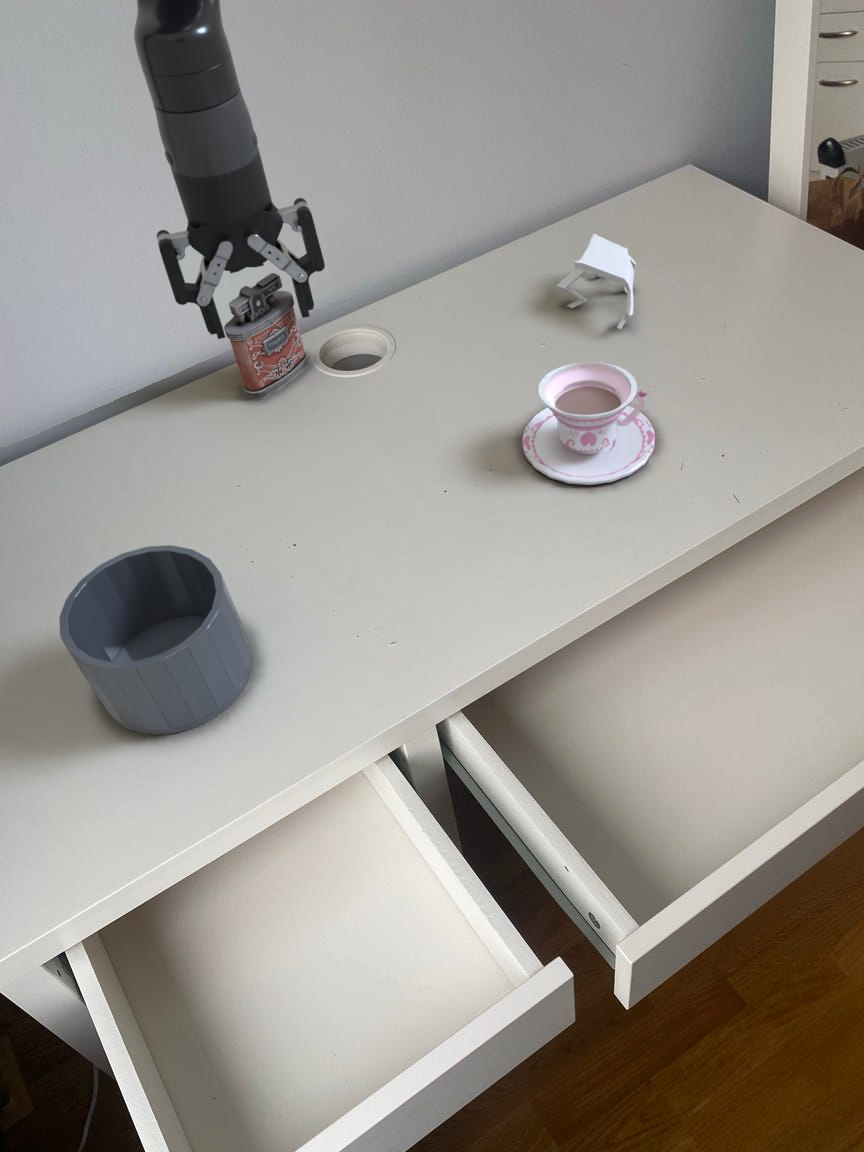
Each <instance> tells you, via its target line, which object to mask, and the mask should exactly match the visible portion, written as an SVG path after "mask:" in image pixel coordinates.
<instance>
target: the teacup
mask: <svg viewBox="0 0 864 1152" xmlns="http://www.w3.org/2000/svg"><path fill="white" fill-rule="evenodd" d="M537 392H538V396H539V398H540V400H541V401H542V403H544V405H545V406H546V407H545V408H544V409H542V410H541V411H539V412H538V413H536V414H535V415H534V416H532V418H531V420H530V421H529V422H528V423H527V425H526V426H525V427H524V431H523V435H522V439H521V447H522V449H523V454H524V457H525V458H526V460H527V461H528V463H530V465H531V466H532V467H533V468H534V469H535V470H536V471H538V472H539V473H541V474H543V475H545V476H546V477H548V478H550V479H552V480H556V481H559V482H562V483H565V484H570V485H571V484H572V485H586V486H593V485H600V484H606V483H607V484H609V483H613V482H615V481H618V480H621V479H623V478H626V477H628V476H631V475H633V474H634V473H635V472H636V471H638V470H639V469H640V468H642V467H643V466H645V465H646V463H647V462H648V460H649V459H650V458H651V456H652V454H653V453H654V451H655V443H656V434H655V433H656V432H655V431H654V428H653V425H652V422H651V420H649V419H648V418H647V417H646V416H645V415H644V414H643V413H642V412H641V411H642V409H643V407H644V405H645V401H644V398H645V397H647V396H648V393H647V391H643V389H641V390H639V391H638V383H637V379H636V378H635V377H634V375H633V374H632V373H631V372H629V371H628V370H627V369H625V368H623V367H621V366H619V365H616V364H613V363H608V362H602V361H579V362H572V363H569V364H565V365H562V366H559V367H557V368H555V369H553V370H551V371H550V372H548V373H547V374H546V375H544V376H543V377H542V379H541V381H540V382H539V384H538V391H537ZM633 400H637V401H638V403H637V404H636V407H635V408H634V407H633V406H631V405H629V404H630V403H631V402H632V401H633Z"/></svg>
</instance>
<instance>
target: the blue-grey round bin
mask: <svg viewBox="0 0 864 1152" xmlns="http://www.w3.org/2000/svg"><path fill="white" fill-rule="evenodd" d="M63 603H64V604H63V606H62V609H61V611H60V613H59V614H60V615H59V621H58V622H59V636H60V639H61V641H62V642H63V644H64V646H65V648H66V649H67V651H68V653H69V655H70V656H71V657H72V659H73V660H74V662H75V664H76V665H77V667H78V668H79V670H80V672H81V673H82V675H83V676H84V678H85V679H86V680H87V682H88V684H89V685H90V687H91V688H92V690H93V692H94V693H95V695H96V696H97V698H98V699H99V700H100V702H101V703H102V705H103V707H104V708H105V710H106V712H107V713H108V714H109V715H110V716H111V717H112V718H113V720H115V722H117V723H118V724H119V725H121V726H123V727H124V728H126V729H128V730H131V731H134V732H136V733H140V734H145V735H154V736H157V735H172V734H178V733H182V732H186V731H189V730H192V729H195V728H197V727H199V726H202V725H203V724H206V723H209V721H212V720H213V719H214V718H217V717H218V716H219V715H220V714H221V713H223V712H224V711H225V710H226V709H227V708H229V707H230V706H232V704H233V703H234V702H235V701H236V699H237V698H238V697H239V696H240V694H241V693H242V692H243V690H244V688H245V687H246V685H247V683H248V681H249V678H250V675H251V671H252V667H253V651H252V647H251V644H250V642H249V637H248V634H247V633H246V630H245V628H244V625H243V623H242V620H241V618H240V616H239V613H238V611H237V608H236V606H235V604H234V601H233V598H232V596H231V594H230V592H229V589H228V587H227V584H226V582H225V579H224V577H223V575H222V572H221V571H220V570H219V568H218V567H217V566H216V564H215V563H214V562H213V561H212V559H211V558H210V557H208V556H205V555H203V554H202V553H200V552H198V551H196V549H195V550H194V549H192V548H188V547H182V546H176V545H174V544H173V545H167V544H166V545H151V546H143V547H140V548H137V549H134V550H130V551H129V550H128V551H126V552H123V553H120V554H118V555H116V556H114V557H113V558H110V559H109V560H106V561H104V562H103V563H100V564H99V565H98V566H96V567H95V568H94V569H93V570H91V571H90V572H88V573H87V574H86V575H85V576H83V577H82V578H81V579H80V580H79V581H78V583H77V584H76V585H75V587H74V588H73V589H72V591H70V593H69V594H68V596H67V597H66V599H65V601H64V602H63Z"/></svg>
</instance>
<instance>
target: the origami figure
mask: <svg viewBox="0 0 864 1152" xmlns="http://www.w3.org/2000/svg"><path fill="white" fill-rule="evenodd" d="M573 264H574V267H575V269H573V270H572V271H571V272H570V273H569V274H567V275H566V276H565V277H564V278H563V279H562V280H561V281H559V283H558V284H556V287H557V288H560V289H562V290H563V291H565V292H567V293H569V294H571V295H572V296H574V297H576V298H577V299H578V300H575V301H574V302H571V303H569V304H567V305H566V307H567V308H570V309H574V308H576V307H578V306H580V305H582V304H584V303H586V302H588V299H587V298H585V297H584V296H583V295H582V294H580V293H579V292H577V291H576V290H575V289H574V288H572V287H570V286H571V285H572V284H573V283H575V282H576V281H577V280H578V279H580V278H581V277H582V276H583V275H584V274H586V273H587V272H589V273H591V274H594V275H596V276H597V277H598V278H605V279H607V280H610V281H612V282H614V283H618V284H620V285H621V288H622V291H623V292H624V293H626V294H627V296H626V298H627V299H626V308H625V309H626V310H625V312H626V313H625V314H624V316H623V318H622V319H621V320H620V322H618V324H617V326H616V329H618V330H621V329H623V327H624V326H625V323H626V322H627V320H628V318H630V317H631V316H632V315H634V278H635V268H636V266H637V263H636V261H635V260H634V259H633V258H632V257H631V255H630V254H629V249H628V247H625V246H622V245H620V244H617V243H615V242H612V241H611V240H608V239H606V238H604V237H601V236H599V235H598V234H596V233H593V234H592V237H591V239H590V241H589V244H588V246H587V248H586V250H585V251H584V253H583V254H582V256H581V258H580V259H579V260H575V261H573ZM626 287H627V288H626Z"/></svg>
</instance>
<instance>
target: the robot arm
mask: <svg viewBox="0 0 864 1152" xmlns="http://www.w3.org/2000/svg"><path fill="white" fill-rule="evenodd" d="M136 3H137V4H136V6H137V11H136V13H137V14H136V19H135V24H134V31H133V38H134V39H133V40H134V46H135V50H136V54H137V57H138V61H139V65H140V67H141V71H142V73H143V76H144V80H145V83H146V86H147V89H148V92H149V95H150V98H151V101H152V104H153V109H154V111H155V118H156V121H157V127H158V131H159V136H160V140H161V142H162V146H163V149H164V155H165V158H166V161H167V163H168V164H169V167H170V171H171V172H172V176H173V180H174V182H175V185H176V188H177V192H178V195H179V197H180V201H181V204H182V208H183V211H184V214H185V216H186V219H187V227H186V230H183V231H178V232H173V233H170V232H169V231H168V230H166V229H161V230H159V231H157V233H156V240H157V245H158V249H159V253H160V256H161V259H162V263H163V266H164V268H165V272H166V275H167V278H168V281H169V285H170V287H171V291H172V294H173V297H174V300H175V302H176V304H178V305H180V306H184V305H187V304H195V305H197V306H198V307H199V309H200V312H201V315H202V318H203V321H204V324H205V327H206V330H207V332H208V333H209V334H210V335H216V338H217V339H218V340H221V339H225V338H226V333H225V330H224V326H223V324H222V321H221V318H220V315H219V311H218V308H217V306H216V303H215V300H214V296H213V295H214V293H215V290H216V288H217V287H218V286H219V285H220V282H221V279H222V277H223V274H224V271H226V272H229V273H230V274H235V273H238V272H240V271H242V270H244V269H246V268H259V267H264V266H265V264H264V263H266V262H267V261H269V262H270V263H271V264H272V265H274V266H275V267H276V268H278V270H280V271H282V272H285V273H286V274H287V275H288V276H290V278H291V281H292V282H291V283H292V286H293V289H294V294H295V297H296V301H297V305H298V309H299V312H300V314H301V318H302V319H304V318H309V317H310V311H312V310H314V307H315V302H314V297H313V293H312V290H311V286H310V282H309V280H310V277H311V276H312V275H313V274H314V273H315V272H316V273H320V272H322V271H323V270H324V269H325V267H326V264H325V260H324V256H323V253H322V248H321V243H320V241H319V237H318V234H317V229H316V225H315V222H314V217H313V214H312V211H311V210H310V209H311V208H310V207H309V205H308V202H307V200H306V199H305V198H303V197H298V198H296V199H295V200H294V202H293V205H290V206H285V207H282V208H278V207H277V206H276V205H275V204H274V202H273V201H272V197H271V193H270V188H269V184H268V180H267V176H266V172H265V169H264V164H263V162H262V157H261V153H260V149H259V145H258V144H259V140H258V136H257V134H256V131H255V129H254V125H253V120H252V117H251V113H250V111H249V109H248V106H247V104H246V100H245V98H244V95H243V93H242V90H241V87H240V82H239V79H238V74H237V72H236V67H235V63H234V60H233V56H232V52H231V51H232V50H231V47H230V43H229V41H228V40H229V39H228V37H227V34H226V32H225V28H224V24H223V19H222V12H221V11H222V10H221V9H222V8H221V1H220V0H136ZM284 224H287V225H289V226H290V228H291V229H292V231H293V232H295V233H300V235H301V237H302V241H303V244H304V248H305V254H304V255H302V256H300V257H298V256H297V255H296V254H295V253H293V252H292V251H291V250H290V249H288V247H287V246H286V244H284V243H283V242H282V241H281V240H280V239H279V236H280V235H281V231H282V229H283V226H284ZM188 247H191V248H192V249H194V250H195V251H196V252H197V253H198V254H200V255H201V256H202V258H201V261H200V263H199V270H198V273H197V275H196V278H195V281H194V283H193V282H186V281H185V278H184V275H183V271H182V268H181V265H180V261H182V260H183V259H184V258H185V257H186V252H185V251H186V248H188Z"/></svg>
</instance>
